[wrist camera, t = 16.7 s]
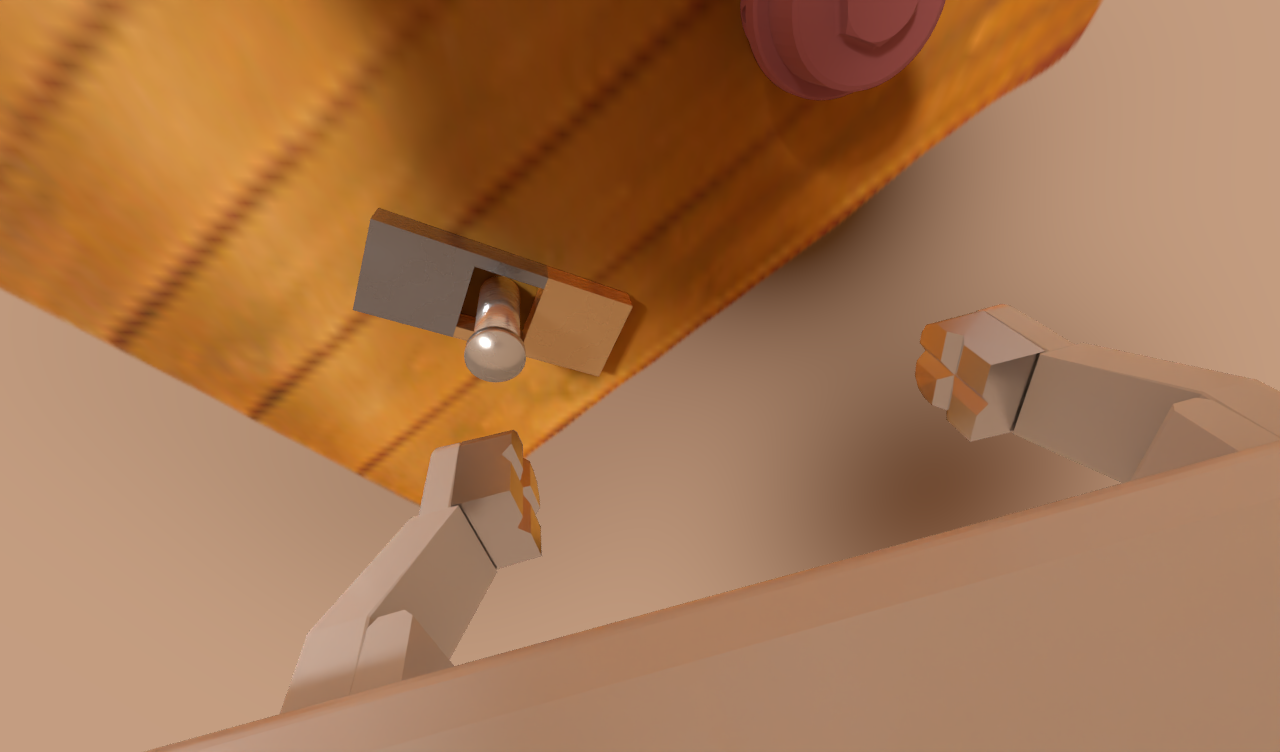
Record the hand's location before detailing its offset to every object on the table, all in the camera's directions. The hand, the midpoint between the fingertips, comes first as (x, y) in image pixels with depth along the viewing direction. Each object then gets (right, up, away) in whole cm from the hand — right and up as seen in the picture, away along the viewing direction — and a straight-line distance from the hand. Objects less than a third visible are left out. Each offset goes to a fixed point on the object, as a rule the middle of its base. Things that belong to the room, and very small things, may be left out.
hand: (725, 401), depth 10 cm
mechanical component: (+8, +26, +25) cm, 37 cm away
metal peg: (-13, +7, +33) cm, 36 cm away
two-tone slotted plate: (-13, +7, +33) cm, 36 cm away
